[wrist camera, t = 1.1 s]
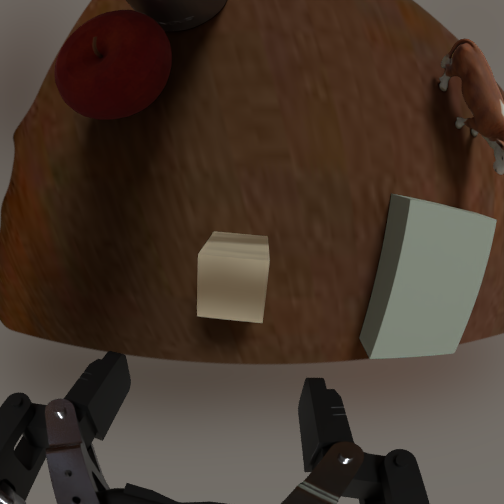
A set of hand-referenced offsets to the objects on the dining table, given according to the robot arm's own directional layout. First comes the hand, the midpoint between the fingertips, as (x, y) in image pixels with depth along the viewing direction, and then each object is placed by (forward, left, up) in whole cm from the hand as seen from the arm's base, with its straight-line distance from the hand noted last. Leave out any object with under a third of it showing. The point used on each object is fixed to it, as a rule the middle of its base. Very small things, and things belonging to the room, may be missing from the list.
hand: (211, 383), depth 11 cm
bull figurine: (-19, +22, -17) cm, 34 cm away
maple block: (0, 0, -17) cm, 17 cm away
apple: (-17, -11, -17) cm, 26 cm away
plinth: (0, +20, -17) cm, 26 cm away
